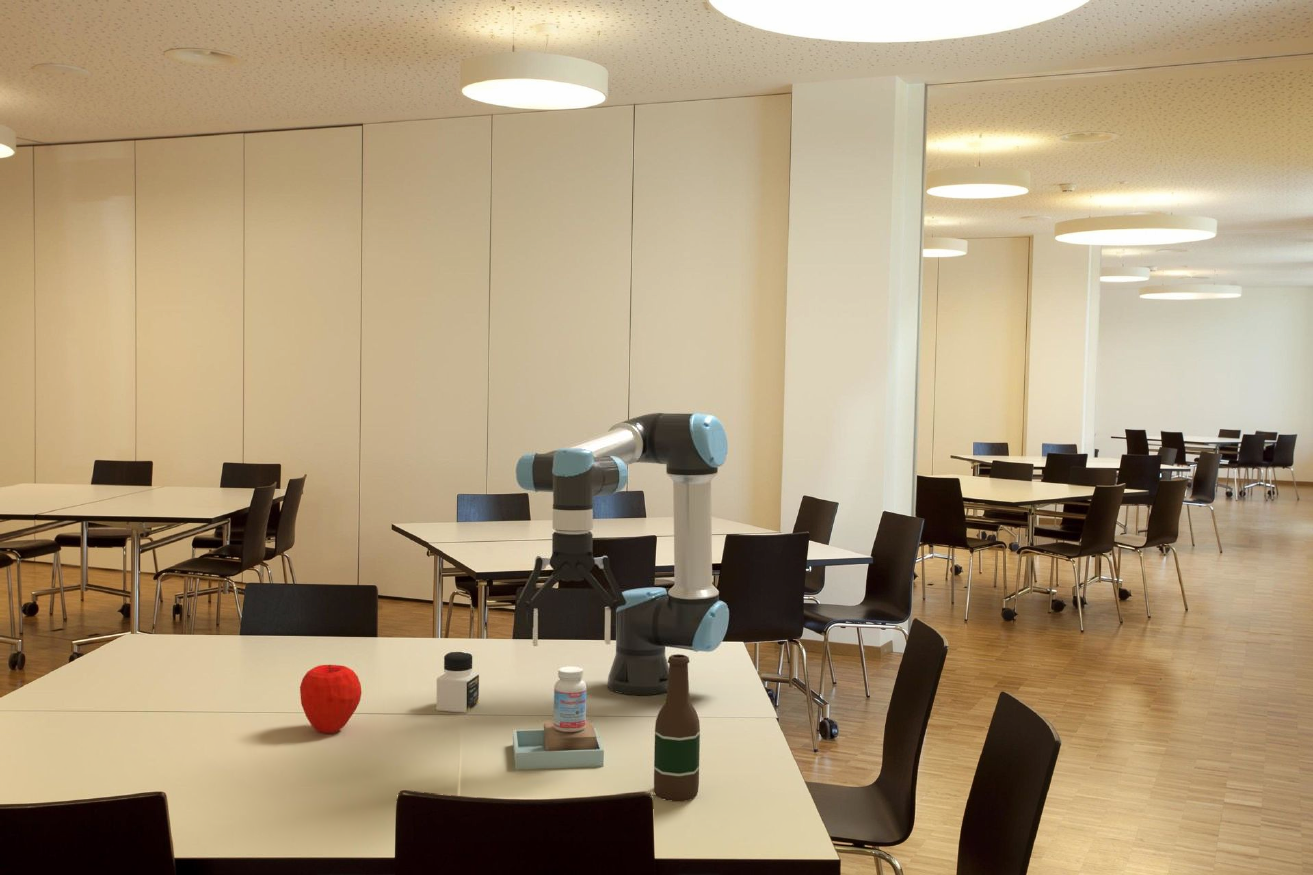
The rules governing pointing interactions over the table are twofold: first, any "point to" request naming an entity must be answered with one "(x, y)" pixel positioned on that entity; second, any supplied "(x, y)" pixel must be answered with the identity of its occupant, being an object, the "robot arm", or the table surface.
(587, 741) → the walnut block
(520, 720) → the table surface
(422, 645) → the table surface
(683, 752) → the beer bottle
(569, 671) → the pill bottle
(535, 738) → the light blue tray
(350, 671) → the apple
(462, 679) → the medicine bottle
